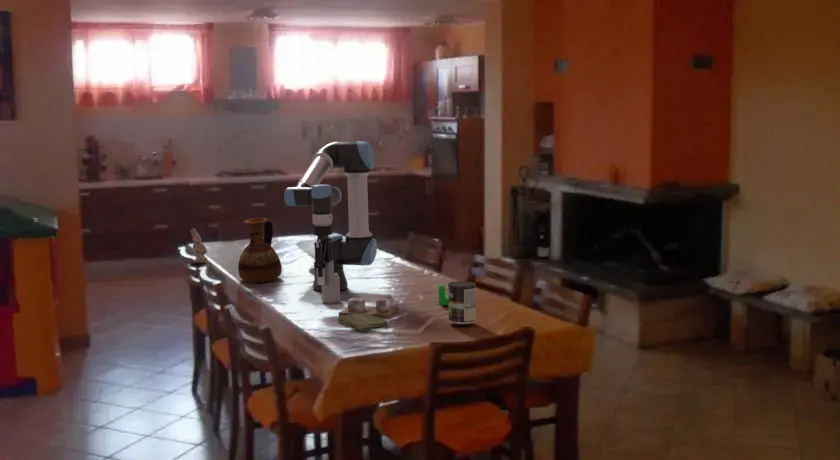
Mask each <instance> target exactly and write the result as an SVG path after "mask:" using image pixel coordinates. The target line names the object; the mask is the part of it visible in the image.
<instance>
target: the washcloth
mask: <svg viewBox="0 0 840 460" xmlns="http://www.w3.org/2000/svg"><path fill="white" fill-rule="evenodd" d="M337 322H338V323H339V324H341V325H344V326H346V327H347V328H350V329H353V330H356V331H368V330H373V329H376V328H378V327H379V328H380V327H385V326H388V324H389V323H388V320H386V319H384V318H381V317H376V316H373V315H371V314H368V313H360V314H354V315H342V316H339V315H338V318H337Z"/></svg>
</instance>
